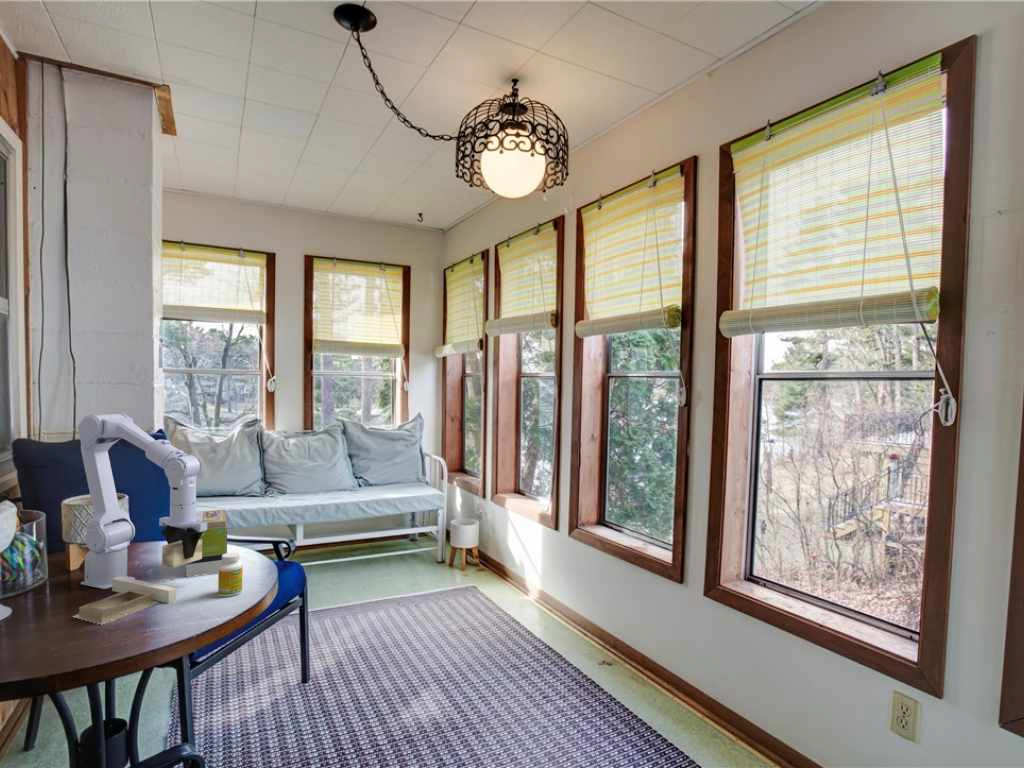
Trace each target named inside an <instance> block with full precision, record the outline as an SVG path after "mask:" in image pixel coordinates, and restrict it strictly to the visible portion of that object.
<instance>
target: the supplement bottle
mask: <svg viewBox="0 0 1024 768" xmlns="http://www.w3.org/2000/svg"><path fill="white" fill-rule="evenodd" d="M222 562H223V563H222V564H220V565H219V573H218V578H217V579H218V581H217V582H218V583H217V585H218V588H217V589H218V590H217V592H218V593H217V594H218V596H219V597H224V598H230V597H235V596H238V595H240V594H241V593H242V592H243V569H244V568H243V567H244V566H243V563H242V562H241V561H240V553H239V552H227V553H226V554H223V555H222Z"/></svg>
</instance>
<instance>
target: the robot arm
mask: <svg viewBox="0 0 1024 768" xmlns="http://www.w3.org/2000/svg"><path fill="white" fill-rule="evenodd" d="M77 430H78V435H79V440H80V451H81V456H82V461H83V466H84V471H85V475H86V481H87V487H88V490H89V496H90V501H91V505H92V510H93V516H91V518H90V519H89V520H88V521H87V523H86V524H85V530H86V533H85V539H84V540H85V541H84V542H85V544H86V547H87V548H88V549H89V551H88V552H87V554H86V555H85V557H84V581H81V582H80V585H83V586H87V587H88V586H89V587H92V588H95V589H96V588H97V589H101V590H107V589H110V588H111V589H112V579H114V578H117V577H120V576H121V577H126V578H130V579H135V580H136V577H134V576H130V575H129V576H128V546H130V545H131V544H130V542H131V541H132V540H133V539H134V538H135V535H136V528H135V525H134V523H133V522H132V521H131V518H130V514H129V513H128V512H126V511H125V510H122V509H121V508H120V505H119V499H118V495H117V490H116V486H115V480H114V476H113V472H112V466H111V461H110V456H109V450H110V449H111V447H112V446H113V445H115V444H116V443H117V442H119V441H120V440H121V439H123V440H125V441H126V442H128V443H130V444H132V445H134V446H135V447H138V448H139V449H141V450H143V451H145V452H144V454H145V457H146V458H147V459H148V460H149V461H151V462H152V463H154V464H156V465H157V466H158V467H160V468H162V469H163V470H164V474H165V476H166V477H167V481H168V484H167V485H169V487H170V488H169V489H170V490H169V491H170V492H169V516H164V517H160V518H159V519H158V526H159V527H164V526H165V528H163V529H161V535H162V536H163V537H164V539H165V540H166V542H167V544H171V543H174V542H178V541H181V540H182V544H183V554H184V558H185V559H188V558H191V557H193V556H194V553H195V549H196V546H197V543H198V541H199V539H200V537H201V535H202V534H203V532H204V531H206V530H207V523H206V522H202V521H200V520H199V517H196V512H197V476H198V475H199V474H200V473H201V471H202V468H203V467H202V466H203V465H202V460H201V459H200V458H199V457H198V456H197V455H196V454H195V453H190V454H187V453H185V452H184V451H183V450H182V449H178V448H177V447H175V446H174V445H173V444H171V441H170V440H168V439H157V440H156V439H155V438H154V437H152V436H151V435H149V434H148V433H147V432H146V431H145V430H143V429H142V428H140V427H139V426H138V424H137V425H136V424H135V423H134V419H133V418H131V417H129V416H128V415H127V414H125V413H123V412H117V413H110V414H107V413H106V414H88V415H86V416H84V417H83V418H82V420H81V421H80V423H79V424H78V425H77ZM186 529H187V531H186Z"/></svg>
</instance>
